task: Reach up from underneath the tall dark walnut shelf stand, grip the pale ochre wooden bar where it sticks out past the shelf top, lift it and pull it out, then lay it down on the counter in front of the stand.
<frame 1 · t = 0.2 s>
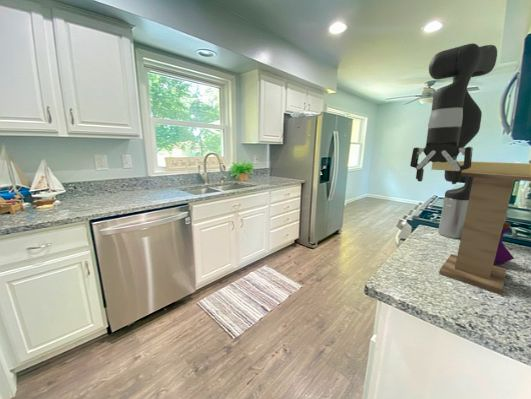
hand: (436, 182, 69), 29 cm above the counter, tool pointing down, fingers open, 8 cm apart
ochre bar: (476, 171, 68), point 32 cm above the counter, touching walnut stand
walnut stand: (472, 273, 72), on the counter
perfume bottle: (490, 261, 81), on the counter
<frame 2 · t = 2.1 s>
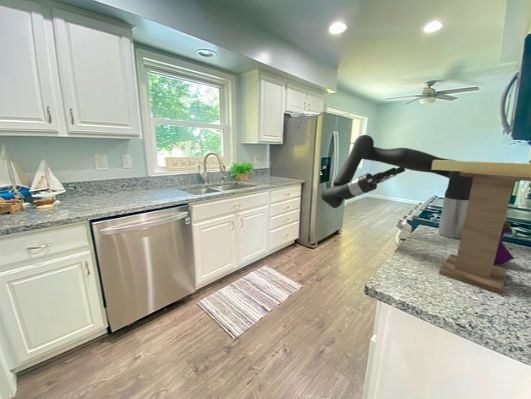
hand: (400, 169, 87), 31 cm above the counter, tool pointing upward, fingers open, 8 cm apart
nothing on the counter moved.
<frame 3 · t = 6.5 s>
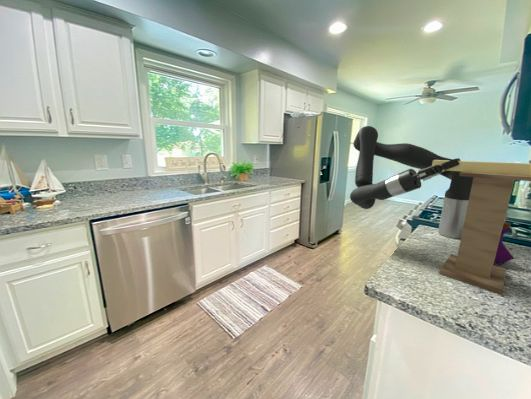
hand: (459, 161, 71), 35 cm above the counter, tool pointing upward, fingers closed on ochre bar, 3 cm apart
ochre bar: (476, 171, 68), point 32 cm above the counter, touching gripper, walnut stand
everything else where it was.
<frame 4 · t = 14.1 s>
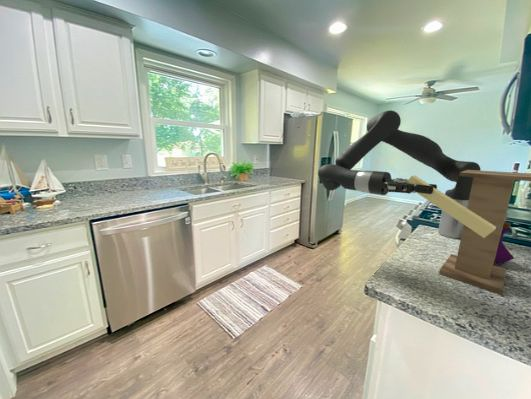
hand: (434, 189, 63), 28 cm above the counter, tool horizontal, fingers closed on ochre bar, 3 cm apart
ochre bar: (442, 207, 63), point 23 cm above the counter, tilted 30°, touching gripper
everything else where it was.
when the fingers open (11 cm above the counter, at t = 17.6 s): ochre bar drops 7 cm, on the counter.
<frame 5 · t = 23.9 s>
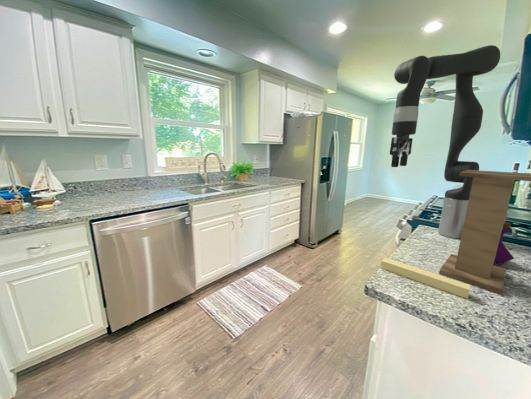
hand: (398, 166, 85), 32 cm above the counter, tool pointing down, fingers open, 8 cm apart
ochre bar: (420, 280, 69), on the counter
everything else where it was.
at the end: ochre bar inside the target area (2.9 cm from its centre), on the counter; ochre bar touching counter; the gripper is holding nothing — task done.
